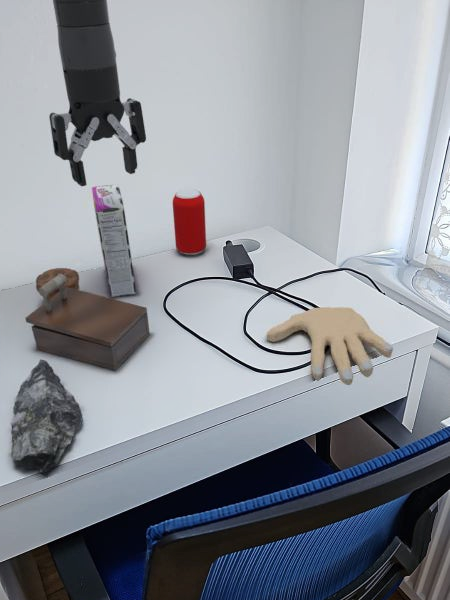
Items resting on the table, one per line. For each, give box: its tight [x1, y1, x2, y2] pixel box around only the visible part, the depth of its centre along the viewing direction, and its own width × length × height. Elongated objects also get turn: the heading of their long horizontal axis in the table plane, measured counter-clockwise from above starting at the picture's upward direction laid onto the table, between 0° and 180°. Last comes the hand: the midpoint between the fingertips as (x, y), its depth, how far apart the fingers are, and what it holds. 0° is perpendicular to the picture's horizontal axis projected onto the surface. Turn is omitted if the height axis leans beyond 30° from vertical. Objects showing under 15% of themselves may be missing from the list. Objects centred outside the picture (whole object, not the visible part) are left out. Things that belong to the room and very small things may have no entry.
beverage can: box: [172, 188, 207, 256], centre depth 115 cm, size 6×6×12 cm
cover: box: [24, 274, 148, 347], centre depth 89 cm, size 15×11×5 cm
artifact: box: [35, 267, 80, 299], centre depth 102 cm, size 8×8×5 cm
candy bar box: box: [91, 184, 137, 298], centre depth 104 cm, size 11×5×16 cm, turn 13°
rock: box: [10, 358, 83, 474], centre depth 79 cm, size 9×22×4 cm, turn 15°
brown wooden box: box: [31, 311, 150, 371], centre depth 93 cm, size 15×11×4 cm
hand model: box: [266, 306, 394, 386], centre depth 91 cm, size 19×5×20 cm
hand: (106, 178), depth 91 cm, fingers open, 8 cm apart
